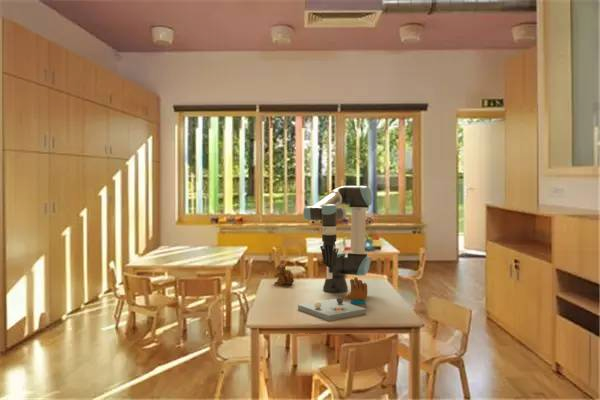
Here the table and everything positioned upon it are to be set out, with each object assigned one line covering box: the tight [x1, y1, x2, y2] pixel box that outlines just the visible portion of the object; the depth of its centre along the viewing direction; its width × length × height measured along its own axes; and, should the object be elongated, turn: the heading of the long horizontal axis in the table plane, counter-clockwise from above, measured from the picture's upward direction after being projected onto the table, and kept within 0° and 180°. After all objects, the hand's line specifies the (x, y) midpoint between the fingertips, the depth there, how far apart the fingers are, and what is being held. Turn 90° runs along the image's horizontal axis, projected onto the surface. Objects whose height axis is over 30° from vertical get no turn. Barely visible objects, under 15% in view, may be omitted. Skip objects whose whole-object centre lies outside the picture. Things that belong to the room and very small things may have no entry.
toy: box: [344, 276, 368, 305], centre depth 274 cm, size 12×7×15 cm, turn 71°
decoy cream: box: [315, 301, 321, 309], centre depth 253 cm, size 4×4×4 cm
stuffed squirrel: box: [273, 263, 295, 286], centre depth 326 cm, size 10×14×13 cm
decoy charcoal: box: [336, 296, 344, 304], centre depth 264 cm, size 4×4×4 cm
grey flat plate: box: [297, 298, 367, 322], centre depth 257 cm, size 26×24×2 cm
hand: (329, 278), depth 262 cm, fingers closed
